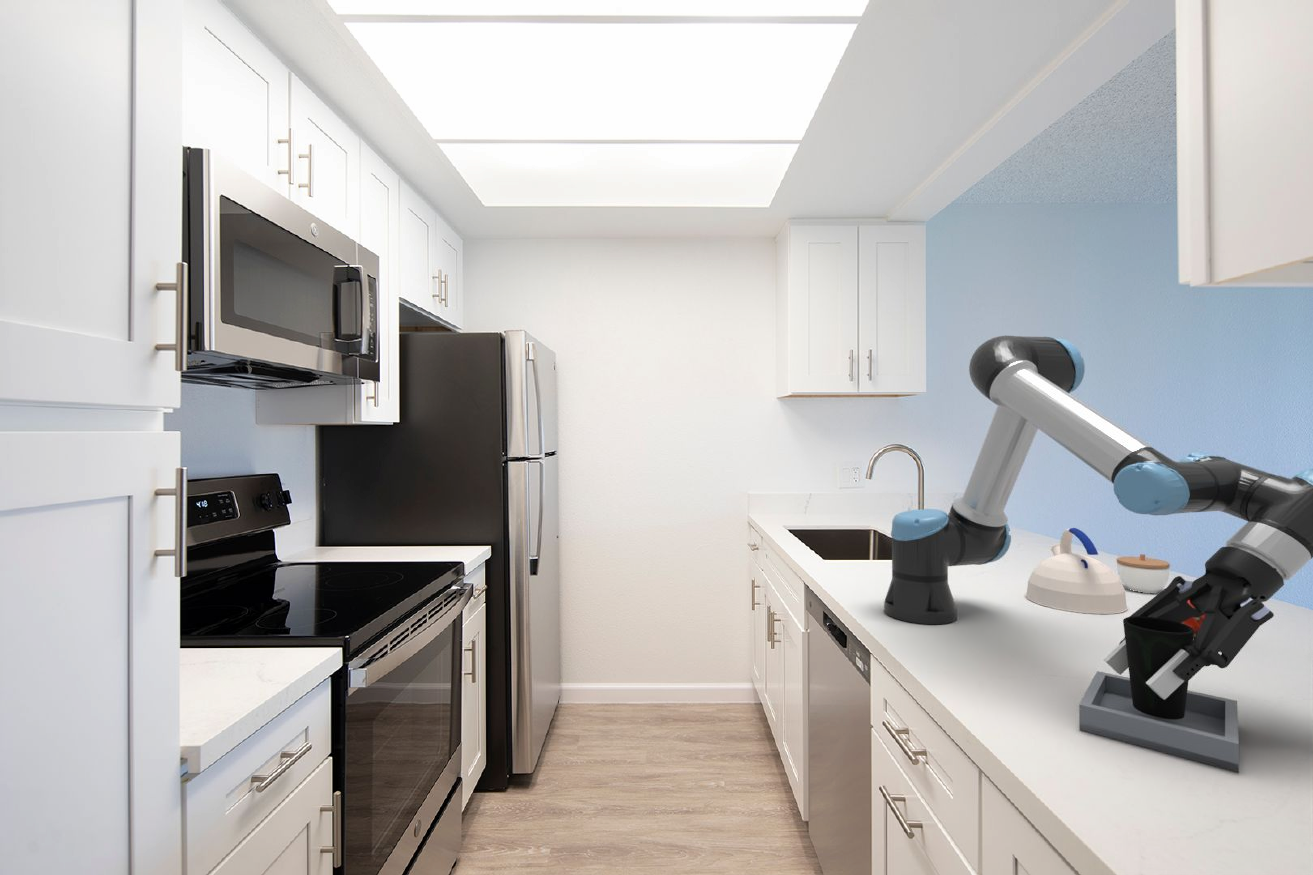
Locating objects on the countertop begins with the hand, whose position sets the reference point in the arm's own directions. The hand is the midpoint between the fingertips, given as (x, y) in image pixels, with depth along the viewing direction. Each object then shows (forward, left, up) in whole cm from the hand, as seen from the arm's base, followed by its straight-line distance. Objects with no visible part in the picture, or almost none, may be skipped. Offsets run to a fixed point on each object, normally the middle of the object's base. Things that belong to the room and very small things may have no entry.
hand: (1132, 678), depth 85 cm
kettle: (-17, +69, -7) cm, 72 cm away
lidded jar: (-6, +93, -7) cm, 94 cm away
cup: (+3, +2, -5) cm, 6 cm away
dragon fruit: (+5, +56, -7) cm, 57 cm away
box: (+3, +2, -7) cm, 8 cm away
